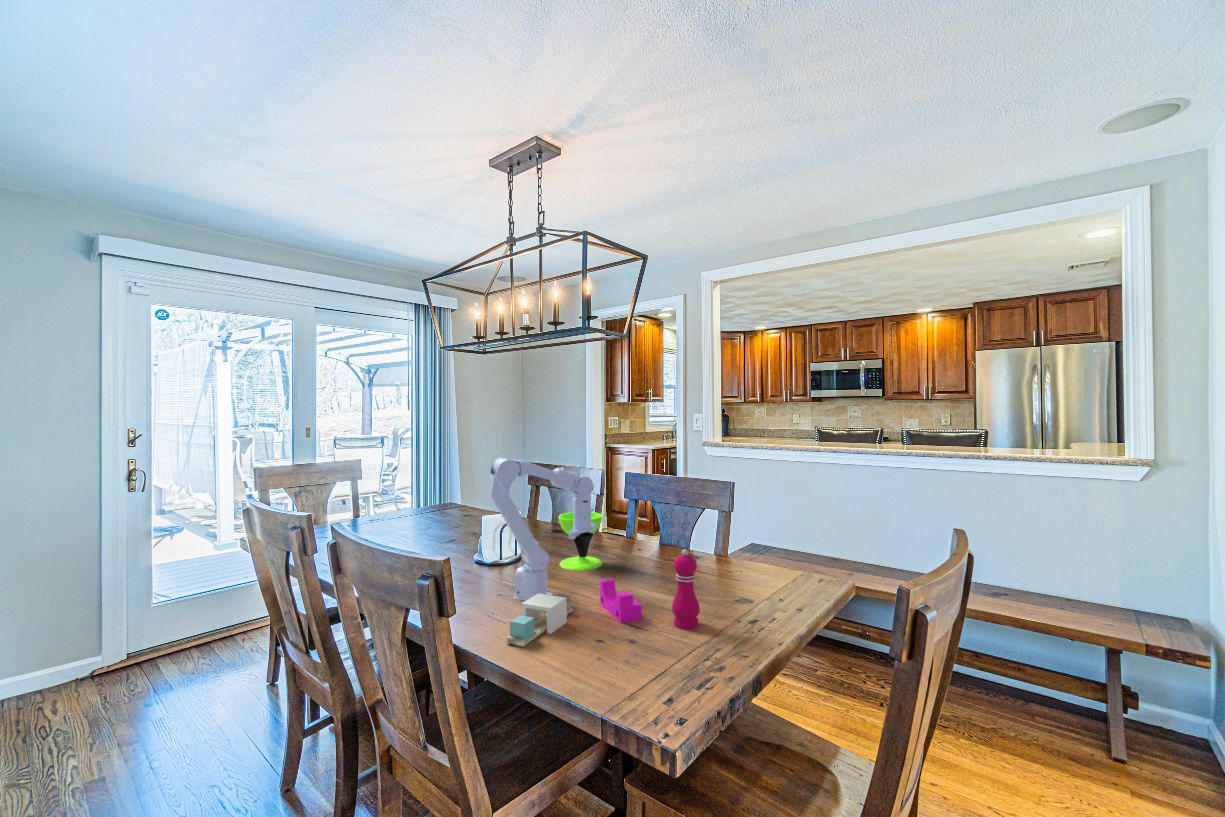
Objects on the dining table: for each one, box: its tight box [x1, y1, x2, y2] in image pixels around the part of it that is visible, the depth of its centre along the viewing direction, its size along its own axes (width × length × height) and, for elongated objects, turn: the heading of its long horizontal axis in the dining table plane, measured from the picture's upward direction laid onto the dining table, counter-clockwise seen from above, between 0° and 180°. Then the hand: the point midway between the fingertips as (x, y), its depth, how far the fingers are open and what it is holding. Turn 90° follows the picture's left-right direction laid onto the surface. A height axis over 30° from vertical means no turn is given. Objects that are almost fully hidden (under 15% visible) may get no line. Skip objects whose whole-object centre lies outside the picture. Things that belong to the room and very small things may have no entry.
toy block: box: [599, 578, 643, 624], centre depth 148 cm, size 15×6×8 cm, turn 22°
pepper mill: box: [671, 548, 701, 631], centre depth 138 cm, size 7×7×20 cm
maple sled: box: [506, 591, 573, 647], centre depth 138 cm, size 5×24×5 cm, turn 155°
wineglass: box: [558, 511, 603, 571], centre depth 194 cm, size 16×16×18 cm
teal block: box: [509, 614, 534, 641], centre depth 130 cm, size 4×4×4 cm
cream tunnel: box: [521, 593, 568, 635], centre depth 139 cm, size 9×8×7 cm
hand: (582, 556), depth 167 cm, fingers closed
